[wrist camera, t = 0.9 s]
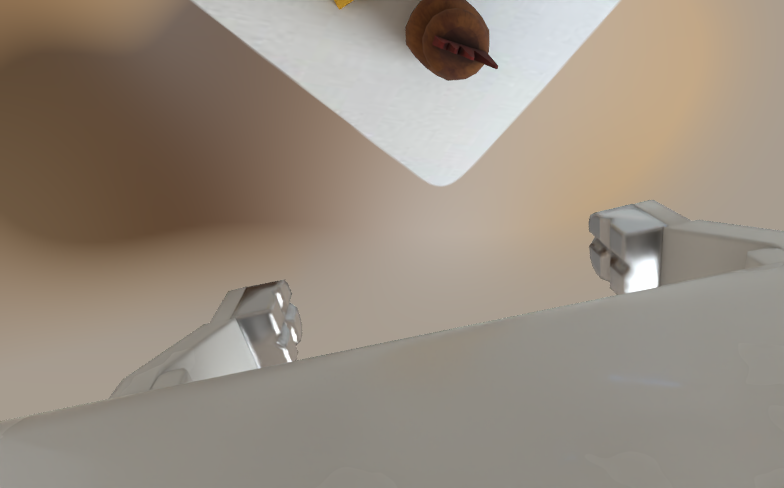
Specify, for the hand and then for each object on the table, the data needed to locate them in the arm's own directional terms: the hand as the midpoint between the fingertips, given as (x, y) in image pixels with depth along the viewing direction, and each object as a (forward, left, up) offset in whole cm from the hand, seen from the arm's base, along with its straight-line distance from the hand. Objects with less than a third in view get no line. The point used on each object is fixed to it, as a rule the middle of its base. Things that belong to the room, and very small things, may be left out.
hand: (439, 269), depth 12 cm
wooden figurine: (-4, 0, -35) cm, 35 cm away
